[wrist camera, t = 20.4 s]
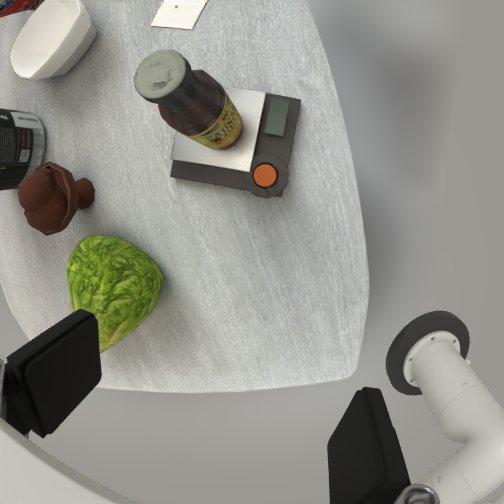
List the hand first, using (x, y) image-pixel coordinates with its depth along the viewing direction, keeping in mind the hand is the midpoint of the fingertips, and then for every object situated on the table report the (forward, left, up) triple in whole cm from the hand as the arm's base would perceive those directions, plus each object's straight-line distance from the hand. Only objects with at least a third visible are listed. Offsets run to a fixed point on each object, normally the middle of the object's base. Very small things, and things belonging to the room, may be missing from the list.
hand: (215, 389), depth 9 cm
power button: (+2, -7, -31) cm, 32 cm away
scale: (+8, -12, -34) cm, 37 cm away
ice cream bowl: (+33, 0, -34) cm, 47 cm away
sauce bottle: (+9, -12, -31) cm, 34 cm away
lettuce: (+24, +17, -34) cm, 45 cm away
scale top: (+8, -13, -31) cm, 34 cm away
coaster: (+22, -34, -34) cm, 52 cm away
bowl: (+45, -29, -34) cm, 63 cm away
